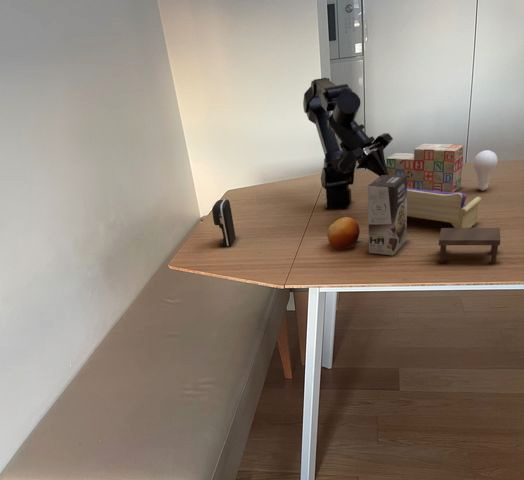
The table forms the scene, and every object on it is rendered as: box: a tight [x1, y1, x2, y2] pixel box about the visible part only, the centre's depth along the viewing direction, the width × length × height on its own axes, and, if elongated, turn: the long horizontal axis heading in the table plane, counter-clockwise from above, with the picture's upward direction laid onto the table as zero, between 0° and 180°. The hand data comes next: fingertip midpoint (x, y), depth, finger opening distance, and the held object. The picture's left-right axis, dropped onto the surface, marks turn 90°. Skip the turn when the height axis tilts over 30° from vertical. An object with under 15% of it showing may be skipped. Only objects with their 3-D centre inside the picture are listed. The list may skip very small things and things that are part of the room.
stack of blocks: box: [385, 143, 465, 192], centre depth 154 cm, size 21×6×12 cm, turn 49°
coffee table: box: [438, 227, 501, 265], centre depth 112 cm, size 12×7×6 cm, turn 71°
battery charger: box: [211, 198, 237, 247], centre depth 139 cm, size 7×4×11 cm, turn 171°
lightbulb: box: [473, 149, 499, 191], centre depth 145 cm, size 6×6×11 cm
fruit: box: [326, 216, 360, 250], centre depth 127 cm, size 8×8×8 cm
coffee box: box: [367, 175, 408, 256], centre depth 120 cm, size 9×6×16 cm
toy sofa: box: [407, 188, 482, 228], centre depth 130 cm, size 21×9×10 cm, turn 47°
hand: (386, 177), depth 133 cm, fingers closed
